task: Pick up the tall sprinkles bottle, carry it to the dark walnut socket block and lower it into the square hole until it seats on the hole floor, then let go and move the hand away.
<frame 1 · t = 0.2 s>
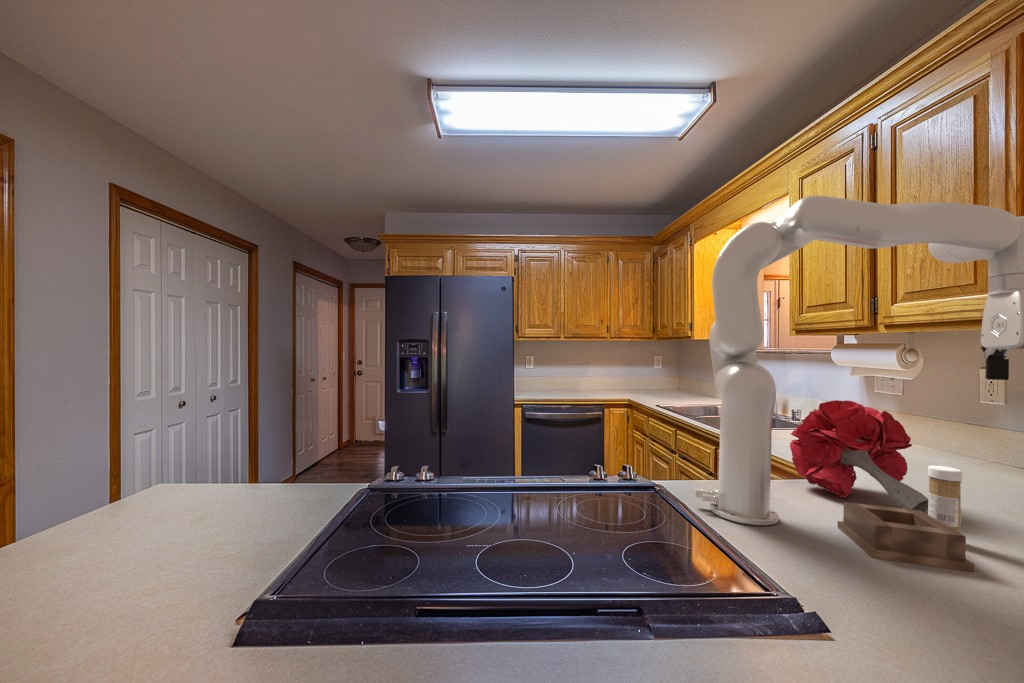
hand: (1017, 380, 80), 30 cm above the countertop, tool pointing down, fingers open, 9 cm apart
sprinkles bottle: (943, 541, 82), on the countertop
bouquet: (854, 498, 107), on the countertop
socket block: (898, 547, 79), on the countertop
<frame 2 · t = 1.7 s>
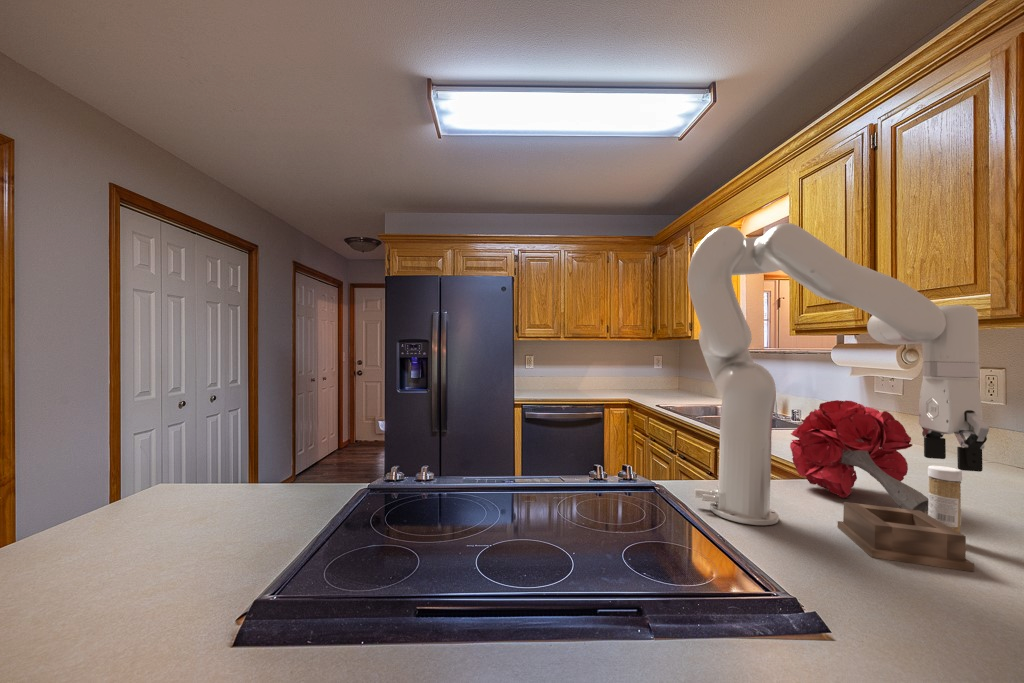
hand: (951, 464, 82), 14 cm above the countertop, tool pointing down, fingers open, 9 cm apart
nothing on the countertop moved.
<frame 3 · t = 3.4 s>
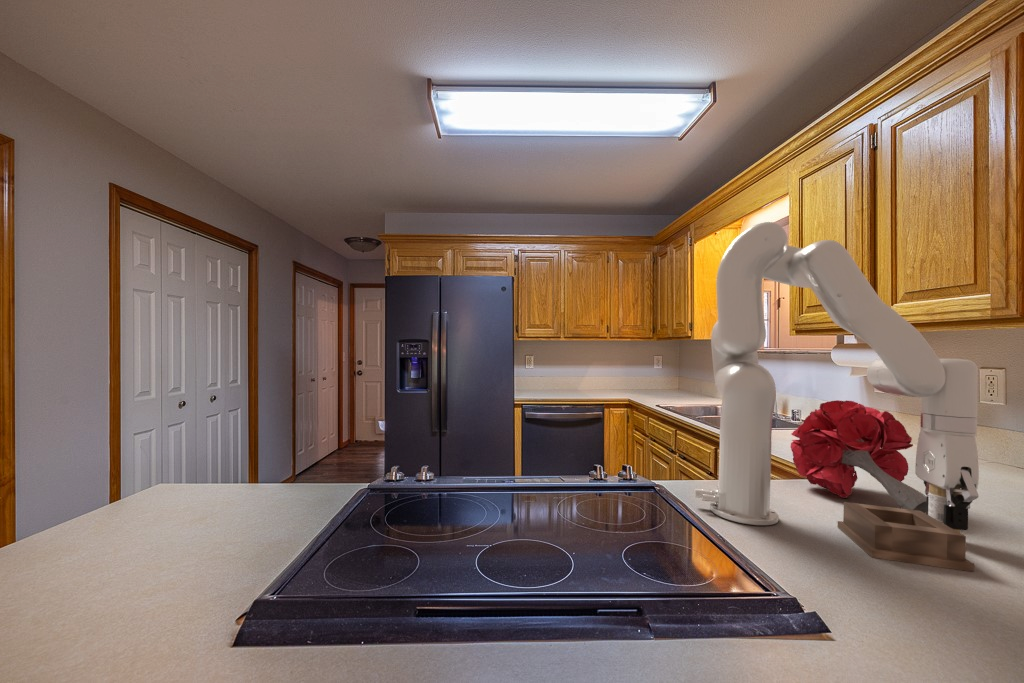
hand: (946, 522, 82), 3 cm above the countertop, tool pointing down, fingers closed on sprinkles bottle, 4 cm apart
sprinkles bottle: (943, 541, 82), on the countertop, touching gripper
everything else where it was.
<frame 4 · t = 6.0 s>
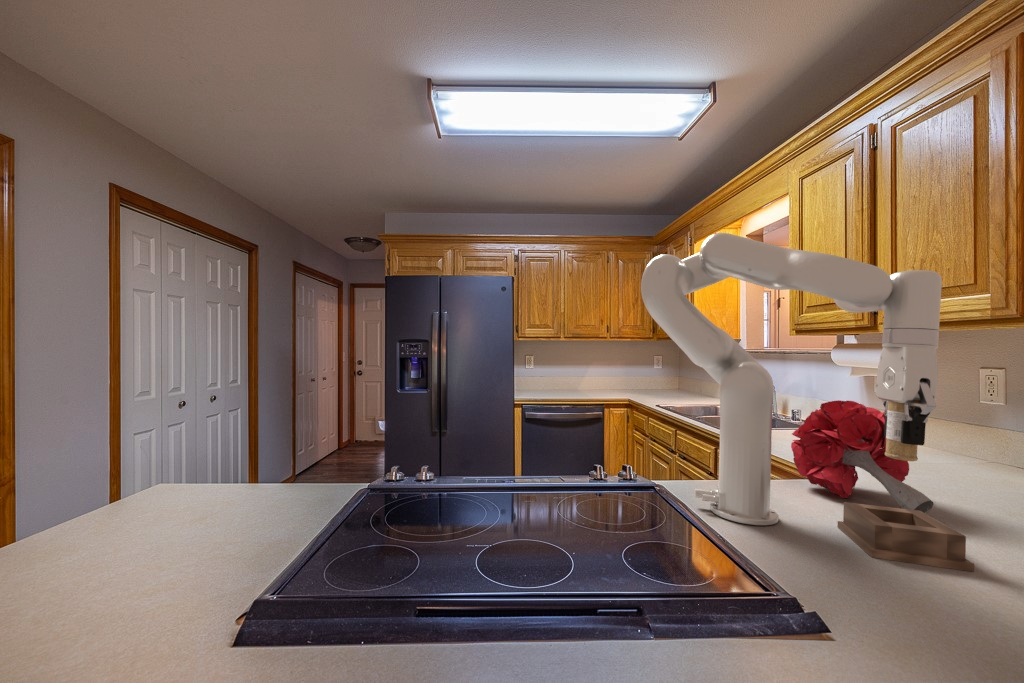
hand: (903, 440, 80), 19 cm above the countertop, tool pointing down, fingers closed on sprinkles bottle, 4 cm apart
sprinkles bottle: (900, 459, 80), point 15 cm above the countertop, touching gripper
everything else where it was.
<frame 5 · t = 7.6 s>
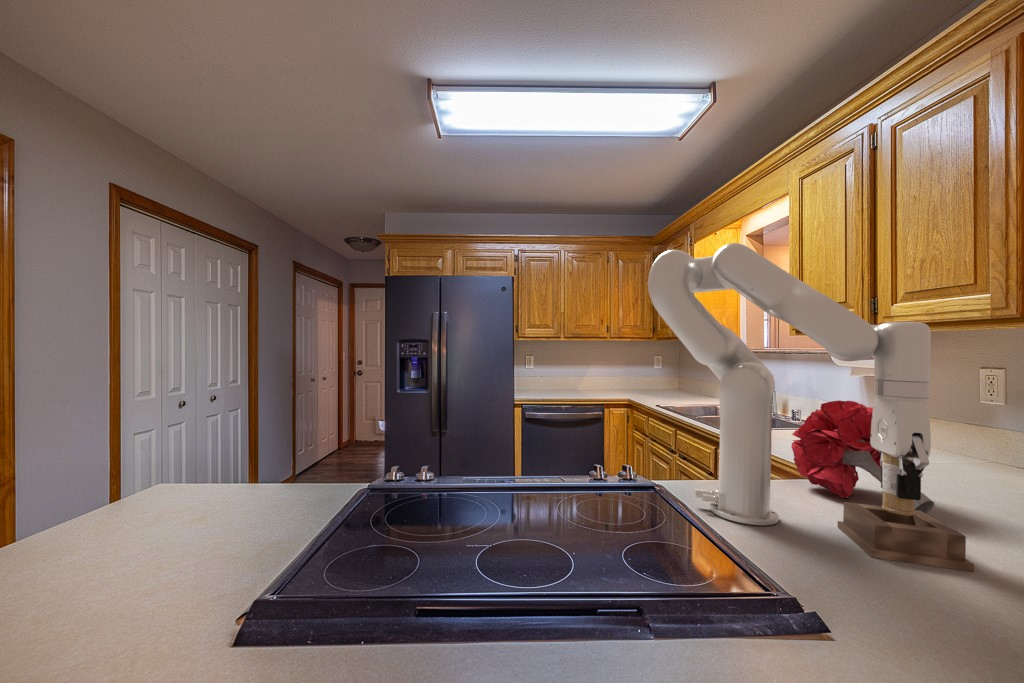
hand: (900, 493, 79), 9 cm above the countertop, tool pointing down, fingers closed on sprinkles bottle, 4 cm apart
sprinkles bottle: (897, 513, 79), point 6 cm above the countertop, touching gripper
everything else where it was.
when the fingers open (6 cm above the countertop, at t = 8.9 s): sprinkles bottle drops 2 cm, resting on socket block.
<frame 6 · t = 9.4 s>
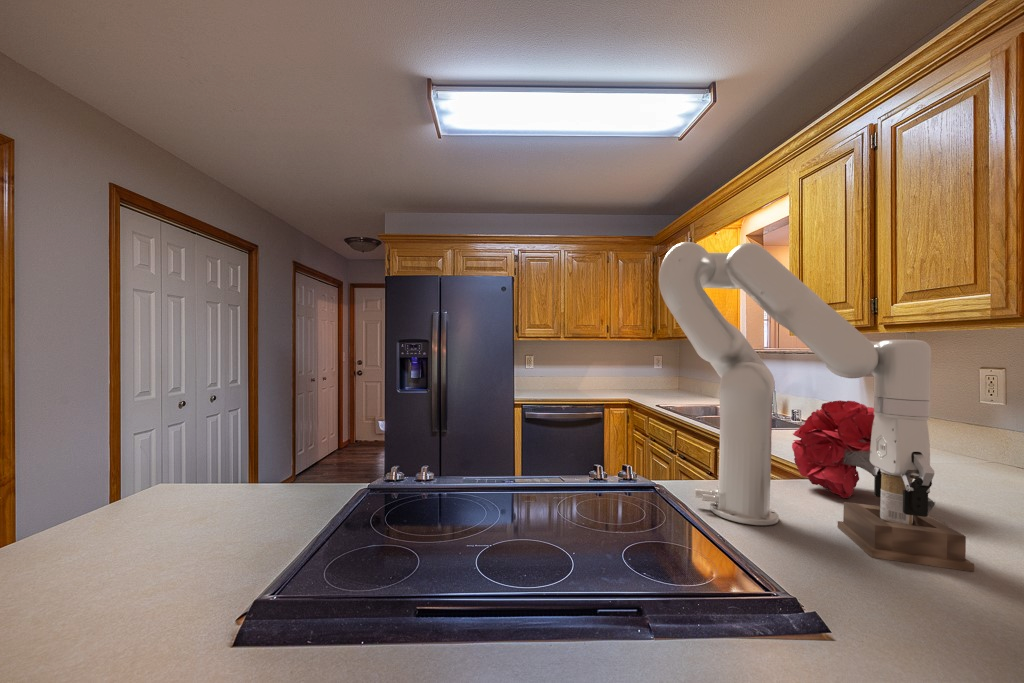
hand: (899, 505, 79), 7 cm above the countertop, tool pointing down, fingers open, 9 cm apart
sprinkles bottle: (895, 540, 79), point 1 cm above the countertop, touching socket block
everything else where it was.
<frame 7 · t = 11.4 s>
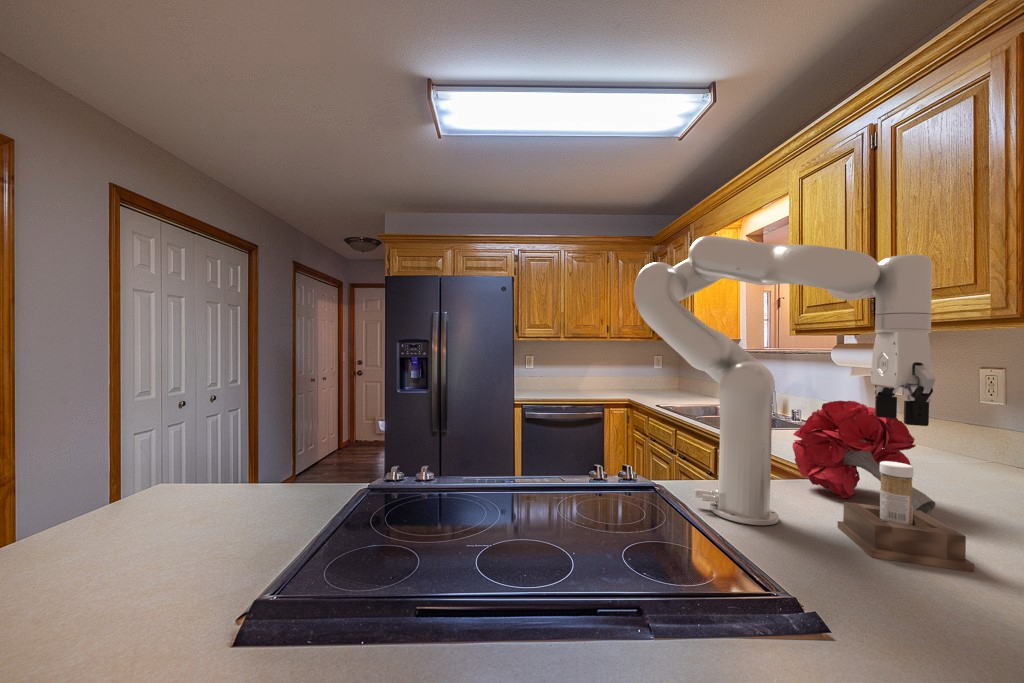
hand: (899, 421, 79), 22 cm above the countertop, tool pointing down, fingers open, 9 cm apart
nothing on the countertop moved.
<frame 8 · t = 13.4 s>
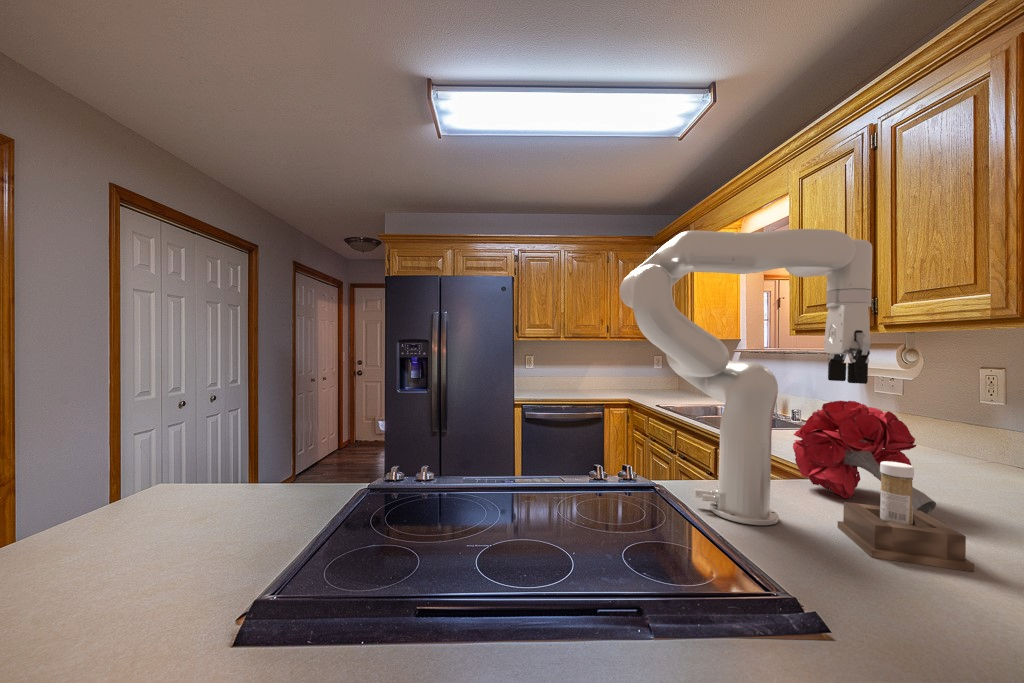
hand: (846, 381, 93), 28 cm above the countertop, tool pointing down, fingers open, 9 cm apart
nothing on the countertop moved.
at the end: sprinkles bottle 0.5 cm off-centre on the socket block, point 1.0 cm above the socket block's base; sprinkles bottle tilted 0°; the gripper is holding nothing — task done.
